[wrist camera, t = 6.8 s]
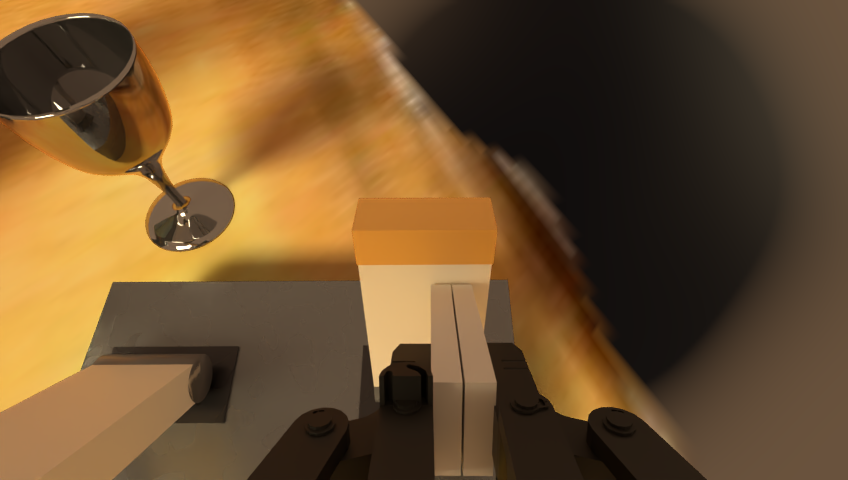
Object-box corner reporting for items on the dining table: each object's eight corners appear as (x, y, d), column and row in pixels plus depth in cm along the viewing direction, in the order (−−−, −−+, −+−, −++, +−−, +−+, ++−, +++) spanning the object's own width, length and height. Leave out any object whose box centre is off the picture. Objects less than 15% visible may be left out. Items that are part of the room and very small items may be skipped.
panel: (510, 505, 26) (532, 513, 21) (108, 507, 26) (25, 515, 21) (494, 313, 32) (508, 278, 26) (164, 314, 32) (111, 281, 26)
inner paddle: (213, 389, 24) (25, 566, 13) (121, 390, 24) (-148, 566, 13) (211, 347, 23) (17, 488, 12) (117, 347, 23) (-161, 489, 12)
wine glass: (155, 273, 33) (-22, 140, 20) (129, 200, 37) (-38, 44, 24) (253, 226, 35) (151, 77, 22) (220, 160, 39) (114, -4, 26)
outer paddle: (476, 411, 22) (498, 232, 15) (375, 411, 22) (351, 233, 15) (472, 370, 24) (489, 195, 17) (379, 371, 24) (359, 196, 17)
